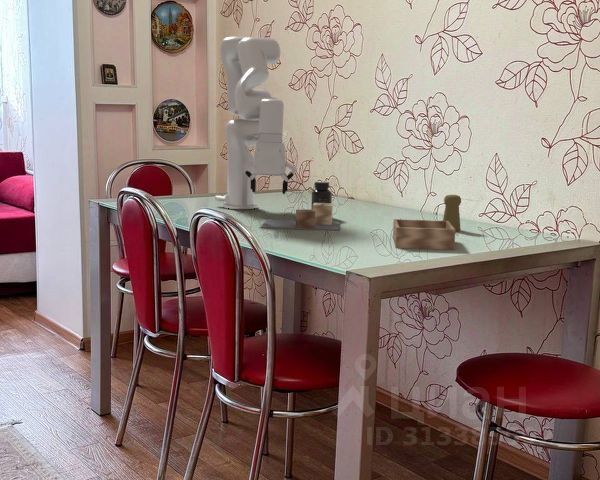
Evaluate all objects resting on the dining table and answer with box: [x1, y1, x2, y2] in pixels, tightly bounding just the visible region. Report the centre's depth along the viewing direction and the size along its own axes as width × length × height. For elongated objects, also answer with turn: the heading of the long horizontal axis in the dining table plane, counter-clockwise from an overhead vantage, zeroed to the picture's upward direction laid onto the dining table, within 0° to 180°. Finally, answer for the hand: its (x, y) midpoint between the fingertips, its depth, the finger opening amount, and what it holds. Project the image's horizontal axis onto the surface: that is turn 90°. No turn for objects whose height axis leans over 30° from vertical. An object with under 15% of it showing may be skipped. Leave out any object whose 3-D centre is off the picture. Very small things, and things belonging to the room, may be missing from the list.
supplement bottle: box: [310, 181, 333, 210], centre depth 259 cm, size 7×7×12 cm
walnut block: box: [295, 209, 315, 228], centre depth 238 cm, size 5×5×5 cm
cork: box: [442, 194, 462, 233], centre depth 240 cm, size 6×6×11 cm
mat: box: [259, 218, 341, 231], centre depth 244 cm, size 24×16×1 cm, turn 86°
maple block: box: [313, 202, 333, 225], centre depth 247 cm, size 6×6×6 cm
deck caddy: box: [392, 218, 456, 251], centre depth 216 cm, size 16×16×6 cm
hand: (268, 192), depth 248 cm, fingers open, 9 cm apart
